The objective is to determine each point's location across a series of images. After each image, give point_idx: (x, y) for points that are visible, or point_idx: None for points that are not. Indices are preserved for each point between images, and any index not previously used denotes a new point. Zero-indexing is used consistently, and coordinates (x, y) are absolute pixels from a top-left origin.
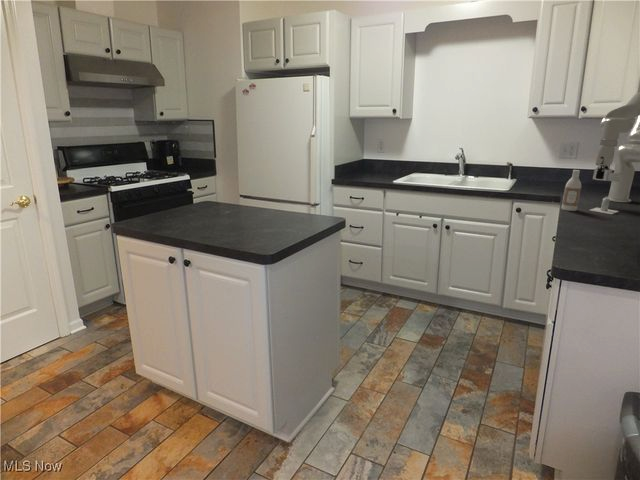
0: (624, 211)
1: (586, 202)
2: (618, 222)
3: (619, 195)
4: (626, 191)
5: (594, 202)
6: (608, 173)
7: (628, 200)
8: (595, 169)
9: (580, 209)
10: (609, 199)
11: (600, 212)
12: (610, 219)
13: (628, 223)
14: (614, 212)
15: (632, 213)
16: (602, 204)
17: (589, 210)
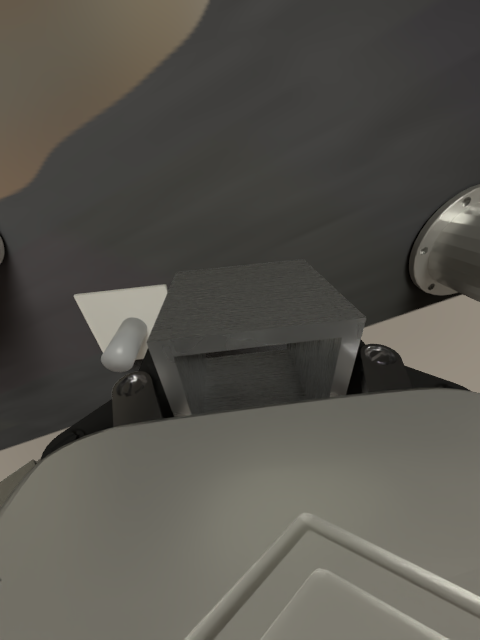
0: (215, 355)
1: (275, 178)
2: (20, 413)
3: (446, 270)
4: (473, 298)
5: (314, 205)
6: None
7: (436, 292)
8: (154, 348)
9: (50, 261)
10: (117, 371)
11: (94, 332)
12: (28, 390)
13: (45, 424)
14: (141, 357)
15: None
16: (112, 338)
17: (75, 295)
